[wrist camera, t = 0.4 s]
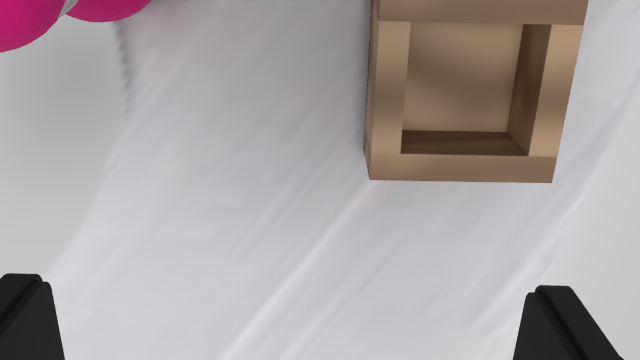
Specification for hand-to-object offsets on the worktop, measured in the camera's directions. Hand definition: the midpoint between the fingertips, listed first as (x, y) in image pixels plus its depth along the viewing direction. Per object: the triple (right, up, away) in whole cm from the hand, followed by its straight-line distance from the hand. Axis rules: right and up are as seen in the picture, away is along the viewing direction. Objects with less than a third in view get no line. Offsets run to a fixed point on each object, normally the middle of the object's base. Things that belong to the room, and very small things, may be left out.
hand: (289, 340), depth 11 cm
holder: (+9, +10, +26) cm, 29 cm away
